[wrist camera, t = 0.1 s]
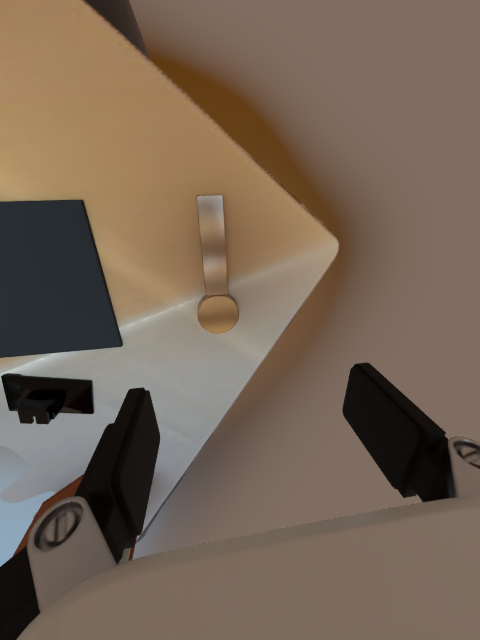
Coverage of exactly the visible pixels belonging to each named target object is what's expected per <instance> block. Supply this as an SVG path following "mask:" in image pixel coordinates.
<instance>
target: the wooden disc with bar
mask: <svg viewBox="0 0 480 640" xmlns="http://www.w3.org/2000/svg"><path fill="white" fill-rule="evenodd" d="M197 205H198V215H199V226H200V237H201V247H202V258H203V268H204V279H205V289H206V296H205V297H204V298H203V299H202V300H201V301H200V303H199V307H198V320H199V322H200V324H201V326H202V327H203V328H204V329H205V330H207V331H209V332H212V333H224V332H227V331H229V330H230V329H232V328H233V327H234V326H235V324H236V323H237V321H238V317H239V311H238V308H237V305H236V302H235V300H234V299H233V298H232V297H231V296H230V295H228V281H227V262H226V243H225V224H224V205H223V195H197Z"/></svg>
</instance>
